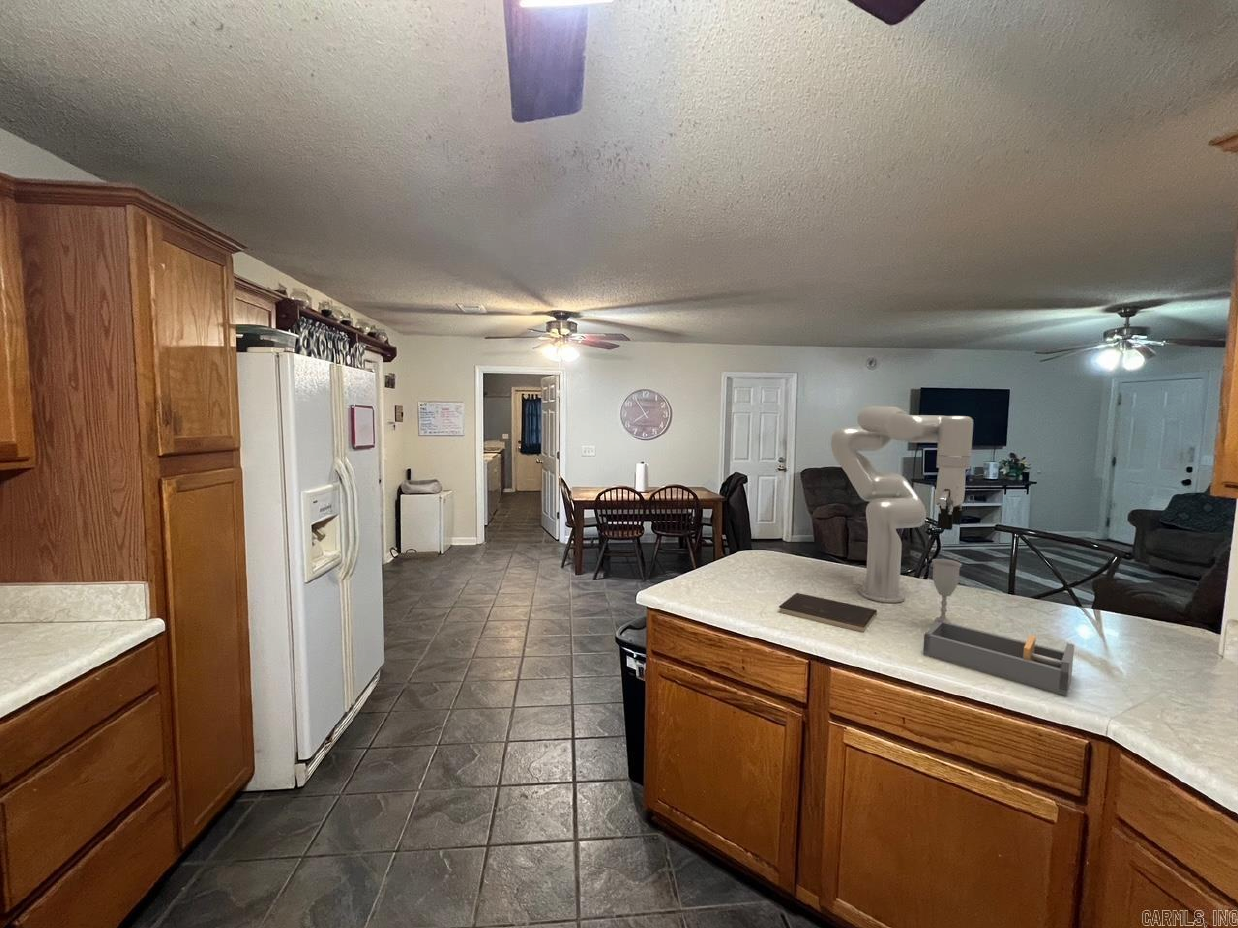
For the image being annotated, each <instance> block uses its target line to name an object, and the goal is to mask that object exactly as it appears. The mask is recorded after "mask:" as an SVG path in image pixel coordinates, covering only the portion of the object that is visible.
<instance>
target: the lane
mask: <svg viewBox="0 0 1238 928" xmlns="http://www.w3.org/2000/svg"><path fill="white" fill-rule="evenodd" d="M923 634H924V635H923V647H922V654H923V655H925V656H928V657H930V658H935V659H938V660H941V661H945V662H948V663H951V664H955V665H959V666H961V667H966V668H967V669H972V670H975V671H979V672H981V673H985V674H988V675H989V674H990V675H992V676H995V677H999V678H1003V679H1006V680H1010V681H1011V682H1012V681H1013V682H1016V683H1020V684H1023V685H1027V686H1030V687H1032V688H1036V689H1039V690H1040V689H1041V690H1044V691H1047V692H1049V693H1054V694H1058V695H1061V696H1064V697H1067V696H1068V691H1069V688H1070V683H1071V679H1072V675H1073V664H1074V651H1075V644H1074V643H1073V644H1072V643H1069V642H1067V643H1066V646H1065V648H1064V650H1061V649H1056V648H1053V647H1048V646H1044V645H1040V644H1036V643H1035V649H1034V654H1038V655H1042V656H1045V657H1049V658H1053V659H1057V660H1061V661H1062V662H1061V666H1058V665H1054V664H1050V663H1046V662H1043V661H1039V660H1035V659H1034V661H1030V660H1026V659H1023V652H1024V646H1025V644H1026V642H1027V641H1023V640H1021V639H1015V638H1013V637H1008V636H1003V635H999V634H995V633H991V632H988V631H983V630H980V629H976V628H971V627H967V626H964V625H959V624H956V623H952V622H951V623H948V622H944V621H940V620H938V621H937V622H936V623H935V624H934V625H933V626H932V625H931V627H930V628H929V629H928V630H927V631H926V632H925V633H923Z"/></svg>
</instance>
